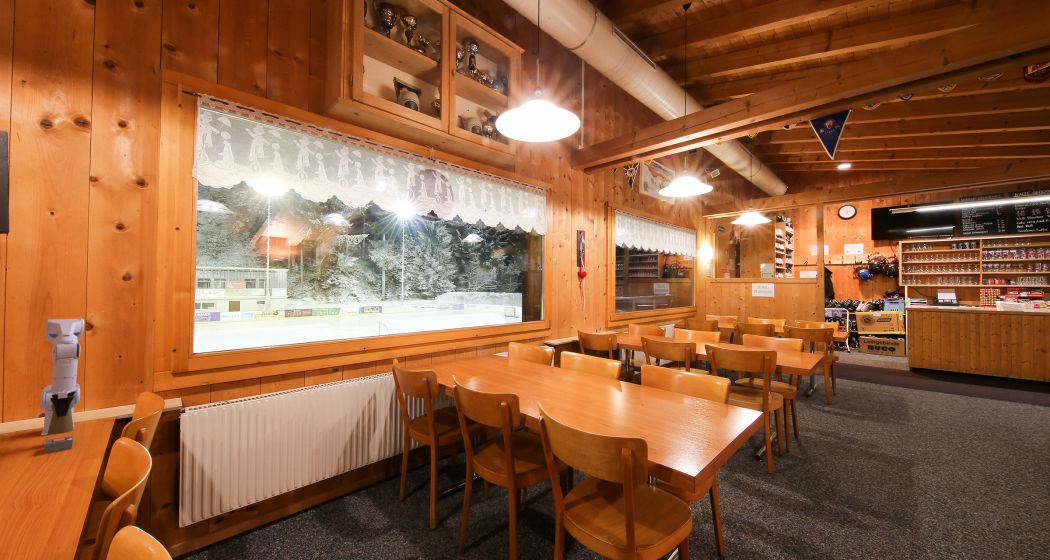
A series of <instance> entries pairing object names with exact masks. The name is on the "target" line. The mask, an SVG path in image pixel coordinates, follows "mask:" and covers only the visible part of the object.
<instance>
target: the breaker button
mask: <svg viewBox="0 0 1050 560" xmlns="http://www.w3.org/2000/svg"><path fill="white" fill-rule="evenodd" d="M59 438H60V439H56V438H53V439H54V441H53V442H57V441H63V440H65V438H62V437H59Z"/></svg>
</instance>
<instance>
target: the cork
mask: <svg viewBox="0 0 1050 560" xmlns="http://www.w3.org/2000/svg"><path fill="white" fill-rule="evenodd" d="M73 406H74V403H73V401H72V402H71V403H70V406H69V409H68V412H67V415H66V416H62V417H57V416H56V412H55V407H54V405H53V404H52V406H51V409H52V411H53V415H52V418H51V422H50V426H49V430H48V434H47V435H50V436H53V435H60V434H65V433H69V432H73V431H74V430H75V426H74V427H73V424H74V419H73V420H72V412H71V408H72V407H73Z"/></svg>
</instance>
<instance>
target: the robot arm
mask: <svg viewBox="0 0 1050 560" xmlns="http://www.w3.org/2000/svg"><path fill="white" fill-rule="evenodd" d="M84 329H85V320H84V318H81V317H80V318H67V319H66V318H57V319H56V318H55V319H50V318H48V319H47V320H46V321H45V332H44V333H45V334H44V335H45V337H44V338H45V339H46V342H48V343H52V344H53V346H52V348H51V350H52V351H51V360H52V366H53V367H52V374H51V384H49V385H47V386H45V387H43V389H42V390H41V394H40V401H39V402H40V403H39V409H41V410H44V419H43V422H44V423H43V428H42V431H41V434H40V435H41V436H47V435H48V430H49V426H50V422H51V418H52V415H53V411H52V409H51V406H52V404H53V405H54V407H55V412H56V416H57V417H62V416H66V415H67V412H68V409H69V406H70V403H71V402H72V401H73V403H74V406H73V407H72V408H71V412H72V420H73V421H74V412H75V406H76V405H78V404H79V403H80V400H81V388H80V387H81V386H80V384H78V383H77V378H78V362H79V360H78V359H80V357H81V349H82V347H81V344H80V342H79V340H81V339H82V337H83V333H84ZM73 427H74V428H75V423H73Z"/></svg>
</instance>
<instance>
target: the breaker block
mask: <svg viewBox="0 0 1050 560" xmlns="http://www.w3.org/2000/svg"><path fill="white" fill-rule="evenodd" d="M60 438H65V440H63V441H57V442H53V441H54V439H60ZM73 440H74V436H73V435H69V436H63V437H56V438H50V439H46V440H45V443H44V451H43V454H45V453H46V454H50V453H49V452H51V453H55V452H54V451H56V452H60V450H62V451H66V450H65V449H67V450H71V448H72V449H73V442H74V441H73ZM46 454H45V455H46Z"/></svg>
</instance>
